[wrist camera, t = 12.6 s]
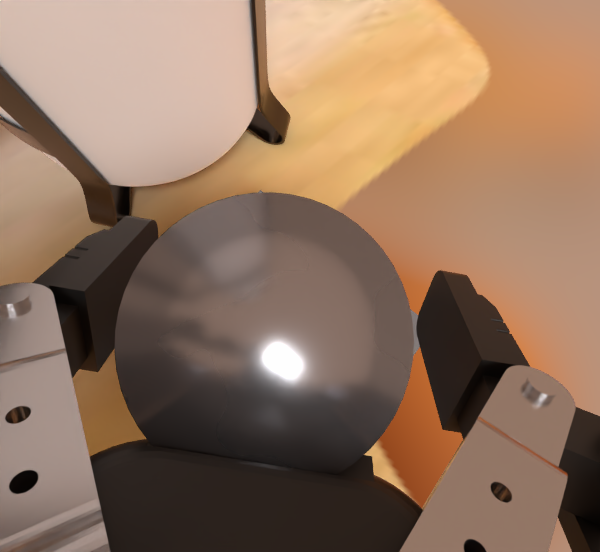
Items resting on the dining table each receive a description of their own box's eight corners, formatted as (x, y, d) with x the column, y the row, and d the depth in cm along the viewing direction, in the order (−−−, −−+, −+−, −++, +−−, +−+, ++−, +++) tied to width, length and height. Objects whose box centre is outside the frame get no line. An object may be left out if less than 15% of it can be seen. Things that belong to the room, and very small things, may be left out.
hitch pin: (217, 345, 18) (50, 356, 5) (275, 276, 19) (249, 138, 6) (286, 404, 18) (285, 566, 5) (343, 332, 19) (470, 314, 6)
